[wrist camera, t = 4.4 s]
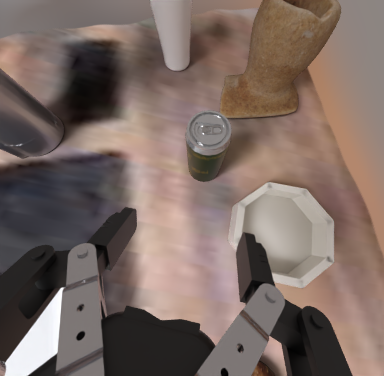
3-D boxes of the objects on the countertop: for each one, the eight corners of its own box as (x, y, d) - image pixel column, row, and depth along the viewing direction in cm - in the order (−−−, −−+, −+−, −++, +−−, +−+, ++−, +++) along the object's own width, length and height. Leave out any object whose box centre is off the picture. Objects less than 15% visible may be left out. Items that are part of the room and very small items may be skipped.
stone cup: (286, 71, 36) (348, -38, 21) (297, 121, 33) (379, 32, 18) (213, 75, 36) (226, -32, 21) (218, 124, 33) (237, 39, 18)
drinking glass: (171, 46, 38) (156, -68, 24) (198, 57, 37) (201, -56, 23) (156, 68, 37) (130, -40, 22) (184, 79, 36) (177, -26, 21)
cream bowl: (266, 296, 25) (278, 307, 22) (213, 219, 28) (216, 217, 24) (332, 243, 27) (355, 245, 23) (276, 176, 30) (288, 168, 26)
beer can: (218, 154, 31) (232, 108, 20) (219, 183, 30) (234, 151, 18) (188, 154, 31) (185, 108, 20) (188, 182, 30) (184, 151, 18)
